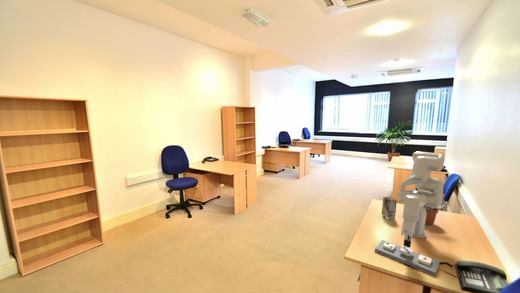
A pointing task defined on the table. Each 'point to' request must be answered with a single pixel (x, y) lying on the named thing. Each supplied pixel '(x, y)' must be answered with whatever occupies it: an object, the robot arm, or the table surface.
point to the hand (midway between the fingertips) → (406, 246)
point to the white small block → (406, 251)
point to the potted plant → (430, 213)
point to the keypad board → (408, 258)
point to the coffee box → (389, 207)
